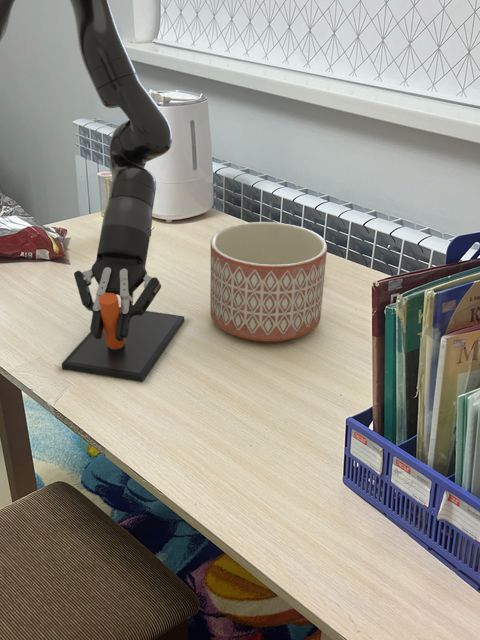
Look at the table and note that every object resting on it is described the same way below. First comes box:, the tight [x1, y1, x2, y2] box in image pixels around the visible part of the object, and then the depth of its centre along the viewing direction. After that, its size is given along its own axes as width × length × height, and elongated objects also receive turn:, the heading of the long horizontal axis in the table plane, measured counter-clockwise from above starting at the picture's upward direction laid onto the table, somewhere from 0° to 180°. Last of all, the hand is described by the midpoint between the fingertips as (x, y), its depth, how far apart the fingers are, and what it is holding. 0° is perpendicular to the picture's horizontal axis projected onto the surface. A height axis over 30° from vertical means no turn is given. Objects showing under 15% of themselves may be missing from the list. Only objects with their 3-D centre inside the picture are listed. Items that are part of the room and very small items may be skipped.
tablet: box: [61, 306, 185, 383], centre depth 113 cm, size 13×20×1 cm, turn 168°
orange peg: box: [99, 293, 126, 354], centre depth 106 cm, size 3×3×10 cm
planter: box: [209, 221, 328, 344], centre depth 118 cm, size 19×19×15 cm
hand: (108, 338), depth 104 cm, fingers closed on orange peg, 2 cm apart
